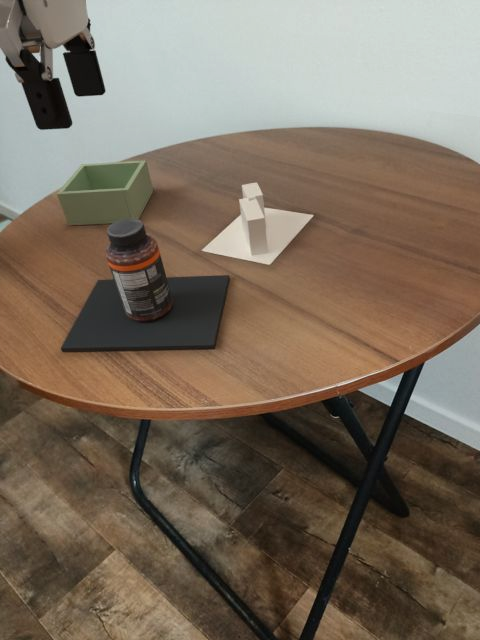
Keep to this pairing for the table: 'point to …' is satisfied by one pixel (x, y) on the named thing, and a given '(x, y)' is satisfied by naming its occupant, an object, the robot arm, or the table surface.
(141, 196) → the bin
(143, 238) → the supplement bottle
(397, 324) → the table surface
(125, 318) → the mat
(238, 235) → the napkin holder
